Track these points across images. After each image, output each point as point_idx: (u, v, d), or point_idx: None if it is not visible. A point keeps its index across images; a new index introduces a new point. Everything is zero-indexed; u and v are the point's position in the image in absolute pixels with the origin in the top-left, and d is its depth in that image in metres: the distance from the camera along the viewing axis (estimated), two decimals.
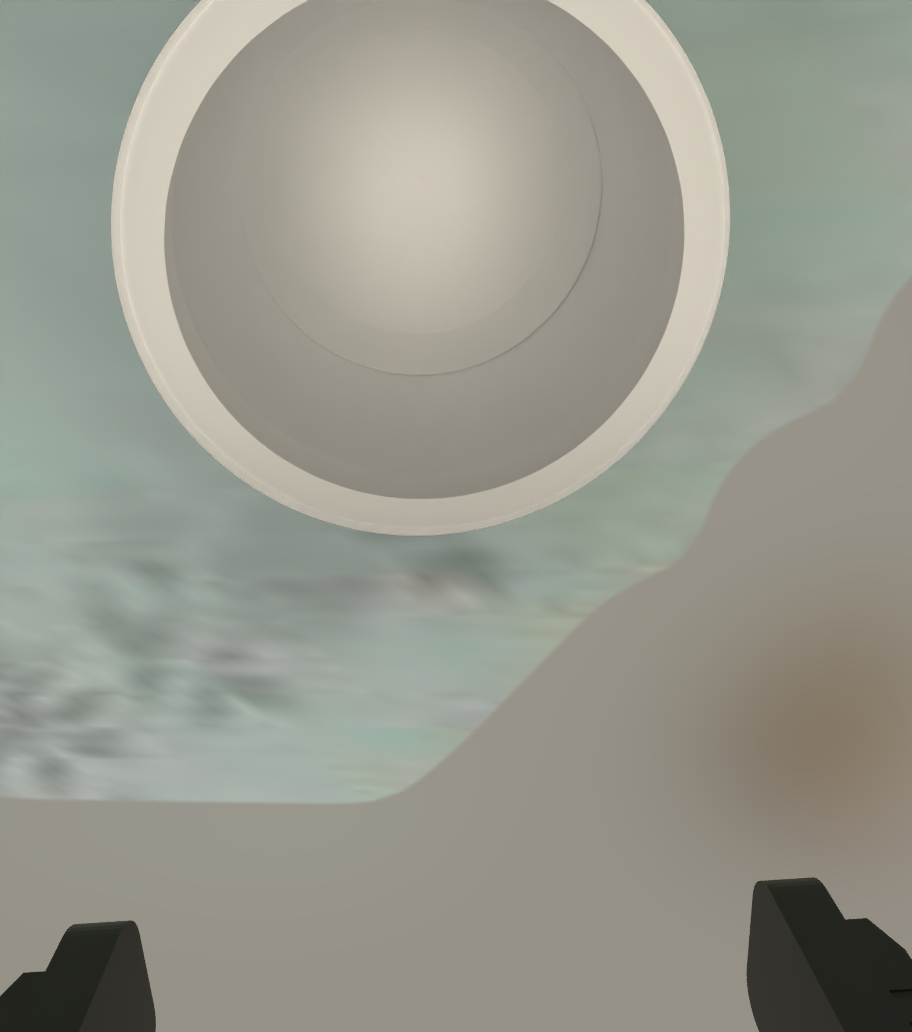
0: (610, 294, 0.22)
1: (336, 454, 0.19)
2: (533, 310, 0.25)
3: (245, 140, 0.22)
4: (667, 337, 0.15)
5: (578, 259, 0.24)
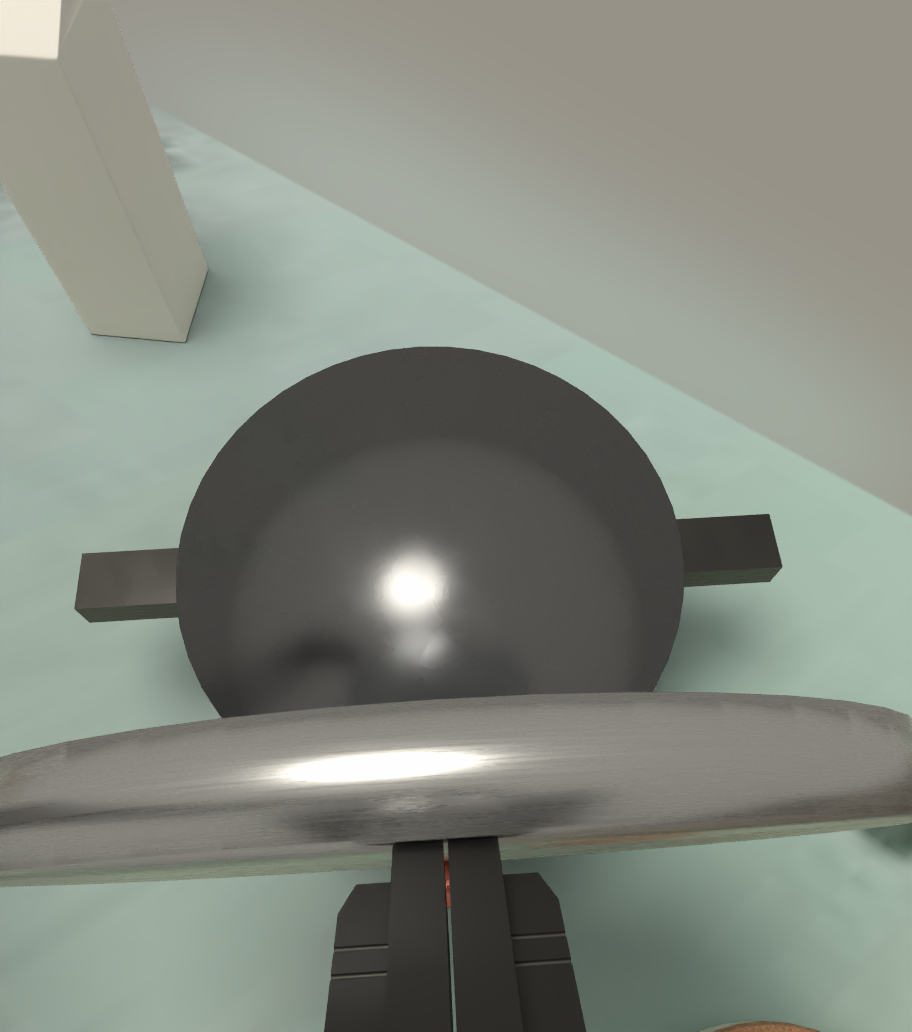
0: None
1: None
2: None
3: None
4: None
5: None
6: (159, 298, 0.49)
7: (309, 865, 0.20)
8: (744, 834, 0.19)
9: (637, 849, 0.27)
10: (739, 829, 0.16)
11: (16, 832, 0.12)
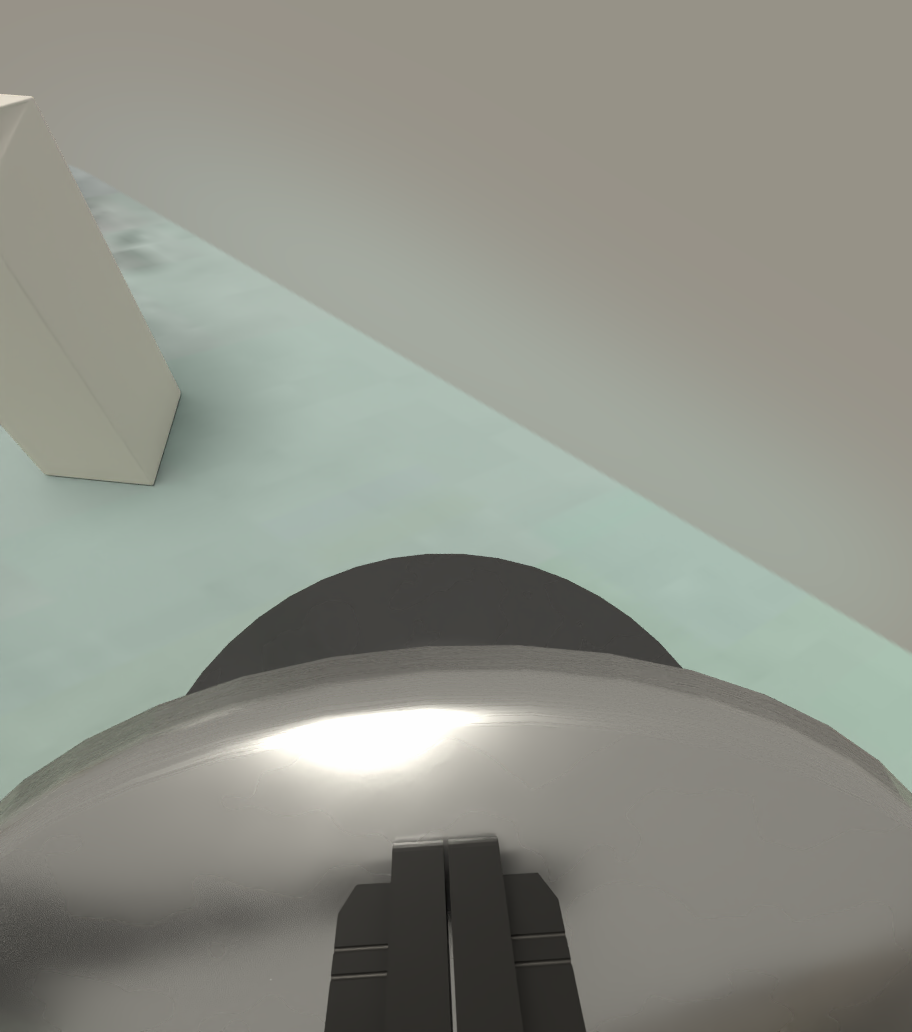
0: None
1: None
2: None
3: None
4: None
5: None
6: (121, 446, 0.42)
7: None
8: None
9: None
10: (778, 958, 0.14)
11: (12, 830, 0.12)
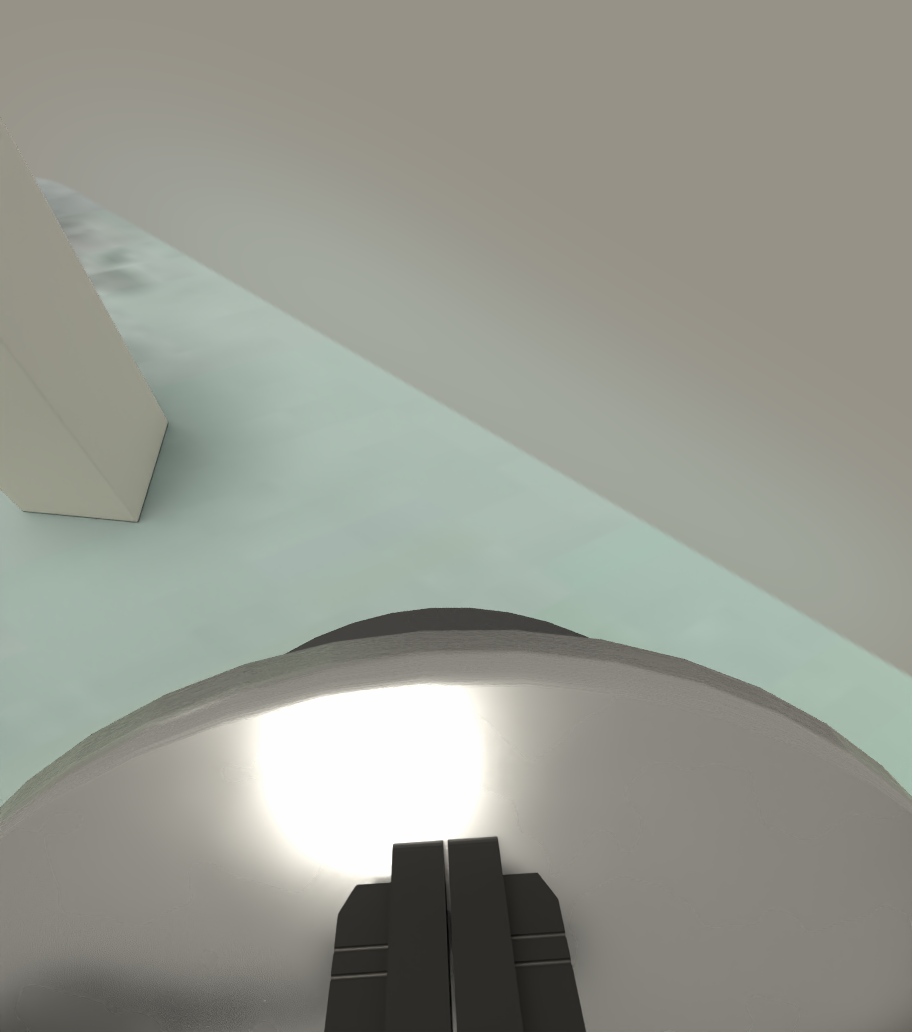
0: None
1: None
2: None
3: None
4: None
5: None
6: (101, 482, 0.39)
7: None
8: None
9: None
10: (797, 981, 0.13)
11: (13, 816, 0.12)
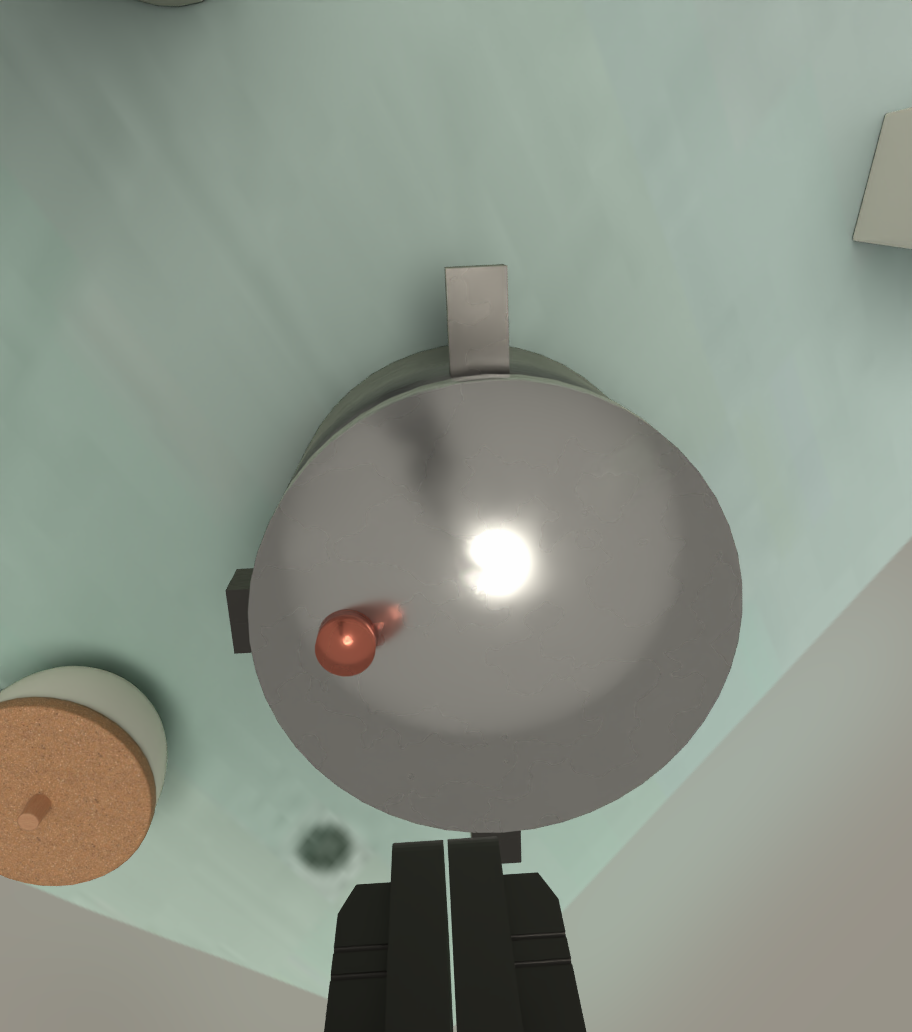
0: None
1: None
2: None
3: None
4: None
5: None
6: (894, 234, 0.40)
7: (493, 557, 0.35)
8: (526, 761, 0.38)
9: (325, 762, 0.37)
10: (607, 733, 0.38)
11: None
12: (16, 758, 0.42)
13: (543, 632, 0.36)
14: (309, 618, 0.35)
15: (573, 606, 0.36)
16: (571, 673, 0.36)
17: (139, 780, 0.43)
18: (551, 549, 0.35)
